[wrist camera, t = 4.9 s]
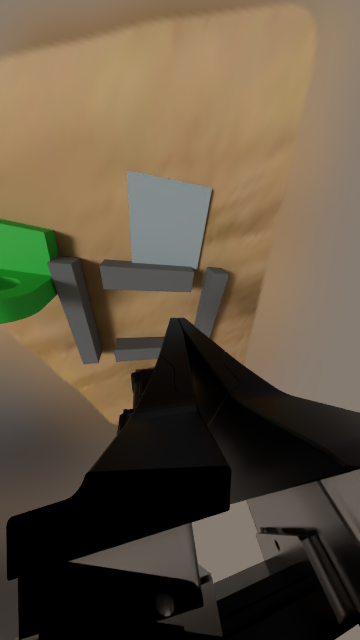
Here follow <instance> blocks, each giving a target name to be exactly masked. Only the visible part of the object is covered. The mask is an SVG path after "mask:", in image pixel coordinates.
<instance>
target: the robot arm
mask: <svg viewBox="0 0 360 640" xmlns="http://www.w3.org/2000/svg"><path fill="white" fill-rule="evenodd" d="M131 380H132V390H133V393H134V395H133V409H129V410H127V409H124V412H123V414H121V415H120V417H119V425H118V431H117V436H116V437H115V439H114V440H113V441H112V442H111V444H110V445H109V446H108V447H107V449H106V450H105V451H104V452H103V454H102V455H101V456H100V457H99V459H98V460H97V461H96V463H95V464H94V465H93V466H92V468H91V469H90V470H89V471H88V472H87V473H86V475H85V478H84V480H83V482H82V485H81V486H80V488H79V489H78V491H77V492H76V493H75V494H74V495H73V496H72V497H70V498H68V499H66V500H63V501H60V502H57V503H54V504H51V505H47V506H44V507H41V508H38V509H35V510H32V511H28V512H25V513H22V514H19V515H16V516H13V517H11V518H10V519H9V520H8V522H7V527H6V530H7V579H8V580H12V579H16V578H18V610H19V611H18V613H19V637H18V638H17V639H16V640H335V639H336V638H338V637H339V636H341V635H342V634H344V633H345V632H347V631H348V630H350V629H351V628H353V627H354V626H355V625H357V624H359V626H360V413H359V412H354V411H350V410H346V409H343V408H339V407H335V406H331V405H327V404H323V403H318V402H315V401H311V400H306V399H303V398H299V397H295V396H291V395H289V394H286V393H284V392H282V391H280V390H278V389H277V388H275V387H274V386H272V385H270V384H269V383H268V382H266V381H265V380H263V379H262V378H260V377H259V376H258V375H256V374H255V373H253V372H252V371H251V370H249V369H248V368H246V367H245V366H244V365H242V364H241V363H239V362H238V361H237V360H236V359H234V358H233V357H232V356H231V355H229V354H228V353H227V352H225V351H224V350H223V349H222V348H221V347H219V346H218V345H217V344H216V343H215V342H213V341H212V340H211V339H210V338H209V337H207V336H206V335H205V334H204V333H202V332H201V331H200V330H199V329H198V328H196V327H195V326H194V325H193V324H191V323H190V322H189V321H188V320H187V319H185V318H170V321H169V325H168V328H167V331H166V334H165V337H164V341H163V344H162V347H161V350H160V354H159V357H158V360H157V363H156V366H155V369H154V371H145V372H134V373H132V374H131ZM244 500H247V503H248V506H249V509H250V512H251V515H252V517H253V520H254V523H255V526H256V529H257V531H258V533H256V538H257V540H258V543H259V546H260V549H261V552H262V555H263V558H264V561H263V562H261V563H259V564H256V565H254V566H252V567H250V568H247V569H245V570H243V571H241V572H238V573H236V574H234V575H232V576H229V577H227V578H225V579H223V580H221V581H218V582H216V583H214V584H213V580H212V577H211V573H210V572H208V571H207V570H206V569H204V568H203V567H201V566H200V565H199V564H198V562H197V555H196V549H195V542H194V536H193V529H192V522H195V521H198V520H201V519H204V518H207V517H210V516H213V515H217V514H220V513H222V512H226V511H228V510H229V509H230V504H233V503H237V502H240V501H244Z"/></svg>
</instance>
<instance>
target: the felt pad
mask: <svg viewBox="0 0 360 640" xmlns="http://www.w3.org/2000/svg"><path fill="white" fill-rule="evenodd" d="M127 182H128V200H129V218H130V235H131V253H132V263H145V264H159V265H173V266H187V267H191V269H197V267H198V261H199V256H200V250H201V245H202V240H203V234H204V229H205V223H206V218H207V213H208V207H209V202H210V196H211V191H212V188H211V187H206V186H201V185H196V184H191V183H186V182H181V181H176V180H171V179H167V178H162V177H157V176H152V175H147V174H142V173H137V172H132V171H128V170H127Z"/></svg>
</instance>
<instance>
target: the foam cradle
mask: <svg viewBox="0 0 360 640" xmlns="http://www.w3.org/2000/svg"><path fill="white" fill-rule="evenodd" d="M47 265H48V268H49V271H50V273H51V276H52V279H53V282H54V284H55V287H56V290H57V293H58V295H59V298H60V301H61V304H62V306H63V309H64V312H65V314H66V317H67V320H68V323H69V325H70V328H71V331H72V334H73V336H74V339H75V342H76V345H77V347H78V350H79V353H80V355H81V358H82V361H83V364H91V363H99V360H100V356H101V353H102V348H101V344H100V340H99V336H98V332H97V327H96V323H95V319H94V315H93V311H92V307H91V303H90V298H89V294H88V290H87V286H86V282H85V278H84V274H83V269H82V265H81V261H80V258H76V257H62V256H58V257H56V258H54V259H52V260H51V261H49V262H47ZM100 272H101V278H102V284H103V289H110V290H142V291H173V292H191V288H192V283H193V277H194V271H193V270H192V269H191V267H187V266H173V265H159V264H145V263H132V262H130V261H117V260H104V261H103V262H102V263H101V265H100ZM228 277H229V274H228V273H227V272H226V271H224V270H223V269H221V268H212V267H207V271H206V275H205V280H204V284H203V289H202V293H201V298H200V302H199V307H198V311H197V316H196V320H195V325H194V326H195V327H196V328H198V329H199V330H200V331H201V332H202V333H204V334H205V335H206V336H207V337H209V338H210V335H211V332H212V329H213V325H214V322H215V319H216V316H217V313H218V309H219V306H220V303H221V300H222V297H223V293H224V290H225V287H226V284H227V280H228ZM163 341H164V337H148V338H122V339H117V340H116V344H115V349H114V352H115V357H116V362H119V361H133V360H147V359H158V357H159V354H160V350H161V347H162V344H163Z"/></svg>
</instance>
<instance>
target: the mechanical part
mask: <svg viewBox="0 0 360 640" xmlns="http://www.w3.org/2000/svg"><path fill="white" fill-rule="evenodd" d="M56 257H58V250H57V245H56V240H55V235H54V230H50V229H45V228H40V227H36V226H31V225H26V224H21V223H17V222H12V221H7V220H3V219H0V324H2V323H8V322H13V321H17V320H21V319H24V318H27V317H29V316H32V315H34V314H36V313H37V312H39V311H40V310H41V309H43V308H44V307H45V306H46V305H47V304H48V303H49V302H50V301H51V300H52V299H53V298H54V297H55V296H56V295H57V294H58V293H57V290H56V287H55V284H54V282H53V279H52V276H51V273H50V271H49V268H48V265H47V262H49V261H51V260H52V259H54V258H56Z"/></svg>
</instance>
